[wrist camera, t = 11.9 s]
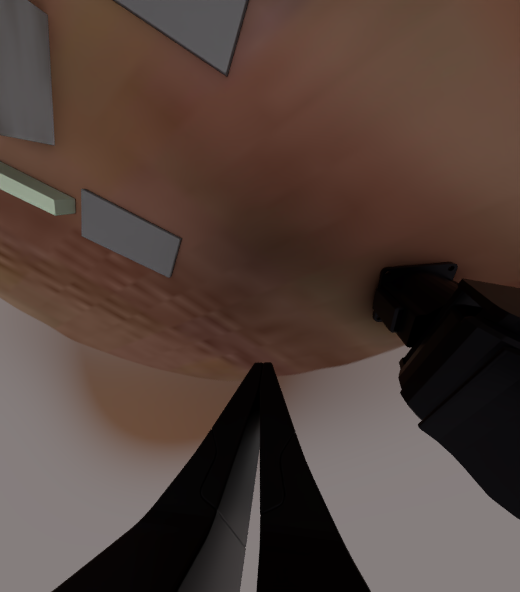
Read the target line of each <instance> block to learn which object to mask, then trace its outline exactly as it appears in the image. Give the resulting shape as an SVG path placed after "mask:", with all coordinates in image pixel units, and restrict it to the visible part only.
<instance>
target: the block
mask: <svg viewBox="0 0 520 592" xmlns="http://www.w3.org/2000/svg"><path fill="white" fill-rule="evenodd" d="M0 135H3V136H8V137H14V138H19V139H24V140H29V141H34V142H39V143H45V144H50V145H55V141H54V123H53V104H52V86H51V67H50V49H49V30H48V15H47V14H46V13H44V12H43V11H42V10H40V9H39V8H37V7H36V6H35V5H33V4H32V3H31V2H29V1H28V0H0Z"/></svg>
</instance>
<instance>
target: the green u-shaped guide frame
mask: <svg viewBox="0 0 520 592" xmlns="http://www.w3.org/2000/svg"><path fill="white" fill-rule="evenodd" d="M113 1H115V2H116V3H118V4H119V5H121V6H122V7H124V8H125V9H127V10H128V11H130V12H131V13H133V14H134V15H136V16H137V17H139V18H140V19H142V20H143V21H145V22H146V23H148V24H149V25H151V26H152V27H154V28H155V29H157V30H158V31H160V32H161V33H163V34H164V35H166V36H167V37H169V38H170V39H172V40H173V41H175V42H176V43H178V44H179V45H181V46H182V47H184V48H185V49H187V50H188V51H190V52H191V53H193V54H194V55H196V56H197V57H199V58H200V59H202V60H203V61H204V62H206V63H207V64H209V65H210V66H212V67H213V68H215V69H216V70H218V71H219V72H221V73H222V74H224V75H225V76H228V72H229V69H230V65H231V61H232V58H233V54H234V51H235V47H236V44H237V40H238V37H239V33H240V29H241V26H242V22H243V19H244V15H245V12H246V8H247V4H248V1H249V0H113ZM0 189H1V190H3V191H6V192H8V193H10V194H12V195H14V196H16V197H18V198H20V199H22V200H24V201H26V202H28V203H30V204H32V205H35V206H37V207H39V208H41V209H43V210H45V211H47V212H49V213H51V214H53V215H55V216H56V215H65V214H73V213H75V199H74V198H72V197H70V196H68V195H66V194H64V193H62V192H60V191H58V190H56V189H54V188H52V187H50V186H48V185H46V184H44V183H42V182H40V181H38V180H36V179H34V178H32V177H30V176H28V175H26V174H24V173H22V172H20V171H18V170H16V169H14V168H12V167H10V166H9V165H7V164H5V163H3V162H1V161H0ZM81 201H82V236H83V237H85V238H87V239H89V240H91V241H93V242H95V243H97V244H100V245H102V246H104V247H106V248H108V249H110V250H112V251H114V252H116V253H118V254H120V255H123V256H125V257H127V258H129V259H131V260H133V261H135V262H137V263H139V264H141V265H144V266H146V267H148V268H150V269H152V270H154V271H156V272H158V273H160V274H162V275H165V276H167V277H169V278H170V277H171V275H172V272H173V268H174V265H175V261H176V258H177V254H178V250H179V247H180V243H181V240H182V238H180V237H178V236H176V235H174V234H172V233H170V232H168V231H166V230H164V229H162V228H160V227H158V226H156V225H154V224H153V223H151V222H149V221H147V220H145V219H143V218H141V217H139V216H137V215H135V214H133V213H131V212H129V211H127V210H125V209H123V208H121V207H119V206H118V205H116V204H114V203H112V202H110V201H108V200H106V199H104V198H102V197H100V196H98V195H96V194H94V193H92V192H90V191H88V190H86V189H81Z"/></svg>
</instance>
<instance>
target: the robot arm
mask: <svg viewBox="0 0 520 592" xmlns="http://www.w3.org/2000/svg"><path fill="white" fill-rule="evenodd" d="M450 266H451V268H450V269H448V268H449V267H450ZM457 267H458V266H457V264H455V263H453V262H445V263H433V264H422V265H410V266H398V267H387V268H384V269H383V270H382V271H381V275H380V280H379V285H378V288H377V289H376V292H375V297H374V303H373V310H374V313H373V319H374V320H375V321H376V322H383V323H384V324H385V325H386V327H387V328H388V329H389V331H391V332H392V333H396V334H397V335H398V336H399V337H400V339H401V340H402V341H403V343H404V344H405V345H406V346H407V347H409V348H410V347H412V348H411V349H410V351H409V352H408V353H407V355H406V356H405V357H404V358H402V359H401V360H400V362H399V364H400V369H401V370H400V373H399V381H400V385H401V388H402V390H401V392H400V393H401V395H402V397H403V398H404V400H405V402H406V403H407V405H408V406H409V407H410V408H411V409H412V411H413V412H414V413H415V414H416V415H417V416H418V417H419V418H420V419H421V420H422V421H421V422H420V423H419V424H418V426H419V428H420V429H421V430H422V431H424V432H425V433H427V434H428V435H429V436H431V437H432V438H434V439H435V440H436V441H437V442H439V443H440V444H441V445H442V446H443V447H444V448H445V449H446V450H447V451H448V452H450V453H451V454H452V455H453V456H454V457H455V458H456V459H457V461H459V463H460V464H461V465H462V466H463V467H464V468H465V469H466V470H467V472H468V473H469V474H470V475H471V476H472V477H473V479H474V480H475V481H476V482H477V483H478V484H479V486H480V487H481V488H482V489H483V490H484V491H485V492H486V494H487V495H488V496H489V497H491V498H492V499H493V500H494V501H495V502H497V503H498V504H499V505H501V506H502V507H503V508H505V509H506V510H507V511H508V512H510V513H511V514H512V515H514V516H515V517H517V518H518V519H520V288H515V287H509V286H503V285H497V284H491V283H485V282H480V281H474V280H468V279H462V280H461V281H460V282H459V283H457V282H455V281H453V278H454V275H455V273H456V270H457ZM387 271H389V273H388V274H385V273H386V272H387ZM377 317H379V318H377ZM259 449H260V515H261V517H260V551H259V565H258V579H257V592H371V591H370V589H369V587H368V586H367V584H366V582H365V580H364V579H363V577H362V575H361V573H360V572H359V570H358V568H357V566H356V565H355V563H354V561H353V559H352V557H351V556H350V553H349V551H348V550H347V548H346V546H345V544H344V542H343V540H342V538H341V536H340V534H339V532H338V529H337V527H336V526H335V523H334V521H333V519H332V517H331V515H330V512H329V510H328V508H327V506H326V504H325V502H324V500H323V498H322V495H321V493H320V491H319V489H318V487H317V485H316V483H315V480H314V479H313V476H312V474H311V471H310V469H309V467H308V464H307V462H306V460H305V457H304V455H303V452H302V449H301V446H300V444H299V441H298V438H297V435H296V433H295V429H294V426H293V423H292V420H291V418H290V415H289V412H288V409H287V406H286V403H285V400H284V397H283V394H282V391H281V388H280V385H279V383H278V379H277V376H276V374H275V371H274V368H273V365H272V363H271V362H265V363H254V365H253V366H252V368H251V369H250V371H249V372H248V374H247V375H246V377H245V378H244V380H243V381H242V383H241V384H240V386H239V387H238V389H237V391H236V392H235V394H234V395H233V397H232V398H231V400H230V401H229V403H228V404H227V406H226V407H225V409H224V410H223V412H222V413H221V415H220V416H219V418H218V419H217V421H216V422H215V424H214V425H213V427H212V430H210V431H209V433H208V435H207V436H206V437H205V439H204V440H203V442H202V443H201V445H200V446H199V448H198V449H197V451H196V452H195V453H194V455H193V456H192V457H191V459H190V460H189V461H188V463H187V464H186V465H185V466H184V468H183V469H182V470H181V472H180V473H179V474H178V475H177V477H176V478H175V479H174V480H173V482H172V483H171V484H170V486H169V487H168V488H167V489H166V490H165V492H164V493H163V494H162V495H161V497H160V498H159V499H158V501H157V502H156V503H155V504H154V506H153V507H152V508H151V509H150V510H149V512H147V514H146V515H145V516H144V517H143V518H142V519H141V520H140V521H139V522H138V523H137V524H136V525H134V526H133V527H132V528H131V529H130V530H129V531H127V532H126V533H125V534H124V535H122V536H121V537H120V538H119V539H118V540H116V541H115V542H114V543H112V544H111V545H110V546H109V547H107V548H106V549H105V550H104V551H103V552H101V553H100V554H99V555H97V556H96V557H95V558H94V559H92V560H91V561H90V562H88V563H87V564H86V565H85V566H84V567H82V568H81V569H80V570H78V571H77V572H76V573H75V574H73V575H72V576H71V577H70V578H68V579H67V580H66V581H65V582H63V583H62V584H61V585H60V586H58V587H57V588H56V589H54V590H53V591H52V592H240V586H241V578H242V571H243V564H244V557H245V550H246V549H245V547H246V542H247V535H248V528H249V520H250V512H251V506H252V499H253V492H254V484H255V477H256V470H257V463H258V455H259Z"/></svg>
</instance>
